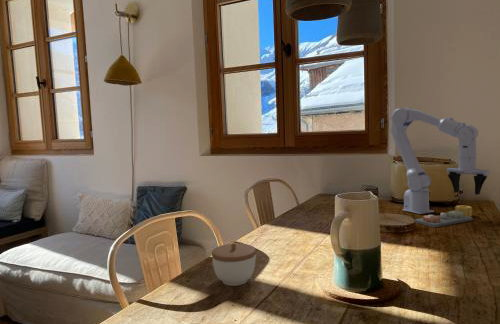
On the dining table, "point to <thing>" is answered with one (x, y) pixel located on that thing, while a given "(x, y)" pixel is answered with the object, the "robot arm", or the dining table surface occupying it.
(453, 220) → the gear board
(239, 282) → the lidded jar
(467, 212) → the loose gear
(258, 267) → the dining table surface
